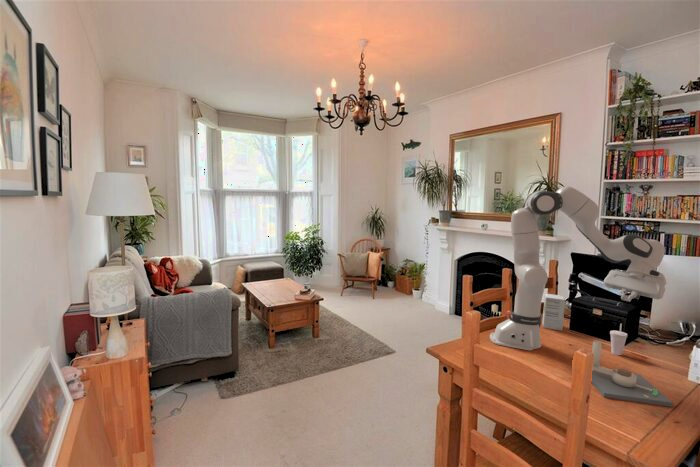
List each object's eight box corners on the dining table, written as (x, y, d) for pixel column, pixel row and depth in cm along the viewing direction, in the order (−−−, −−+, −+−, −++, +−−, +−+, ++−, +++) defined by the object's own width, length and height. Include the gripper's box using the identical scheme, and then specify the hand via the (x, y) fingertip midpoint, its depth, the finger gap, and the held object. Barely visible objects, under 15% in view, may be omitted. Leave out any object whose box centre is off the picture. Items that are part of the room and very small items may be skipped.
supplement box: (542, 322, 201) (544, 293, 199) (561, 325, 197) (563, 295, 195) (542, 327, 192) (545, 297, 190) (562, 331, 188) (565, 299, 187)
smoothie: (628, 357, 157) (632, 326, 156) (612, 355, 159) (615, 325, 157) (620, 351, 164) (623, 321, 162) (605, 350, 165) (608, 320, 164)
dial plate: (603, 397, 124) (604, 392, 124) (581, 370, 143) (582, 366, 143) (672, 407, 119) (673, 401, 119) (640, 378, 138) (640, 373, 138)
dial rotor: (653, 387, 128) (657, 354, 127) (650, 394, 123) (654, 360, 122) (592, 369, 141) (595, 339, 140) (587, 374, 136) (590, 343, 135)
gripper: (609, 263, 158) (595, 288, 155) (668, 274, 141) (653, 303, 138) (613, 272, 161) (599, 296, 158) (671, 284, 144) (656, 312, 140)
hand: (625, 299), depth 148 cm, fingers closed
